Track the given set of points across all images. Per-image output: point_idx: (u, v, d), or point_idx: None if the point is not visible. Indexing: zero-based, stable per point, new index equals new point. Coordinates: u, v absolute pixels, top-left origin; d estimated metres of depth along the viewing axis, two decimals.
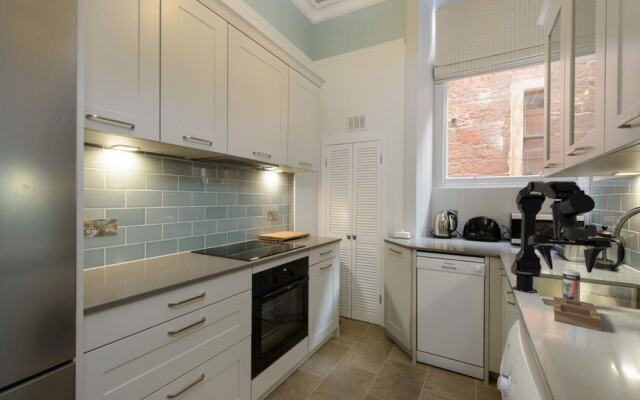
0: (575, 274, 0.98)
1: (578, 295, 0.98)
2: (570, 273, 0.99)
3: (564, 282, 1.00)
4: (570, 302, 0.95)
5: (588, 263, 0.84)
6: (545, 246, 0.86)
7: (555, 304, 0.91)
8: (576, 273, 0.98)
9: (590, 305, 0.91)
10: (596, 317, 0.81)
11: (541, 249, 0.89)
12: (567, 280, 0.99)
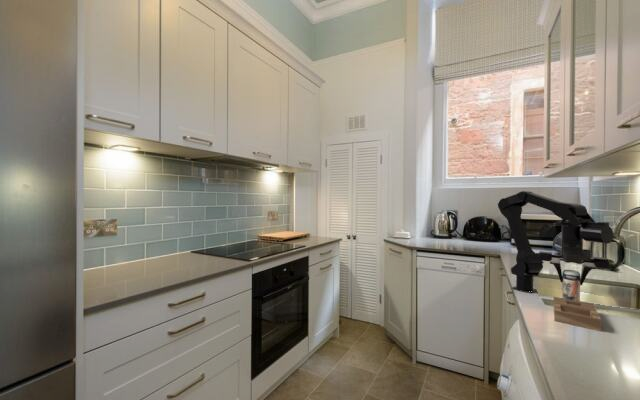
0: (575, 274, 0.98)
1: (578, 295, 0.98)
2: (570, 273, 0.99)
3: (564, 282, 1.00)
4: (570, 302, 0.95)
5: (580, 278, 0.99)
6: (555, 264, 1.01)
7: (555, 304, 0.91)
8: (576, 273, 0.98)
9: (590, 305, 0.91)
10: (596, 317, 0.81)
11: None
12: (567, 280, 0.99)
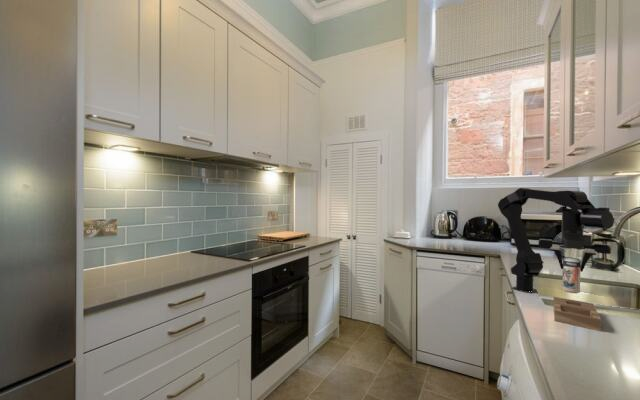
0: (576, 261, 0.98)
1: (578, 282, 0.98)
2: (570, 260, 0.99)
3: (564, 269, 1.00)
4: (570, 302, 0.95)
5: (581, 264, 0.99)
6: (555, 250, 1.01)
7: (555, 304, 0.91)
8: (576, 260, 0.98)
9: (590, 305, 0.91)
10: (596, 317, 0.81)
11: None
12: (567, 267, 0.99)
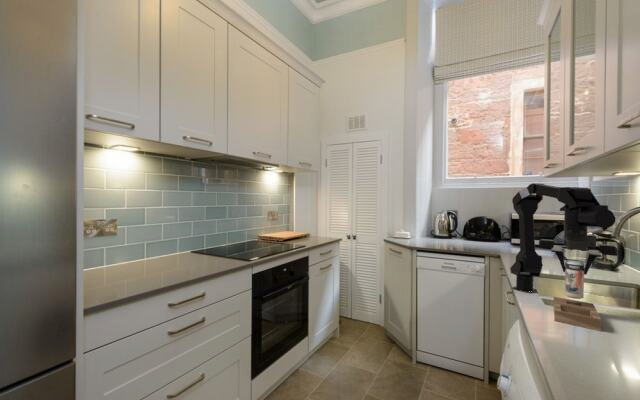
0: (579, 264, 0.91)
1: (582, 286, 0.91)
2: (573, 263, 0.91)
3: (567, 272, 0.93)
4: (570, 302, 0.95)
5: (585, 266, 0.91)
6: (557, 252, 0.93)
7: (555, 304, 0.91)
8: (580, 263, 0.91)
9: (590, 305, 0.91)
10: (596, 317, 0.81)
11: None
12: (570, 270, 0.92)
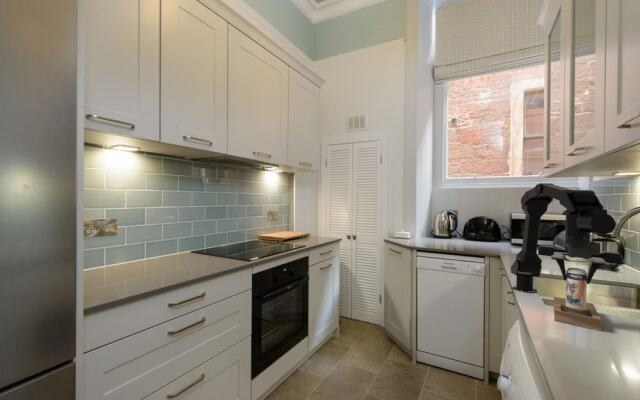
0: (581, 273, 0.84)
1: (584, 297, 0.84)
2: (575, 272, 0.85)
3: (568, 282, 0.86)
4: None
5: (587, 275, 0.85)
6: (558, 259, 0.87)
7: (555, 304, 0.91)
8: (582, 272, 0.84)
9: (590, 305, 0.91)
10: (596, 317, 0.81)
11: None
12: (571, 280, 0.85)
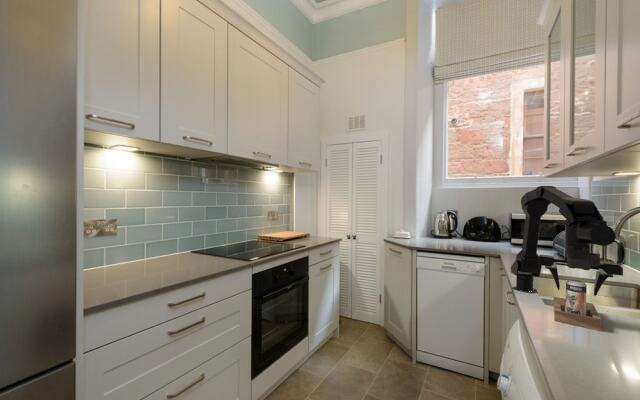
0: (581, 285, 0.84)
1: (584, 309, 0.84)
2: (575, 284, 0.85)
3: (568, 294, 0.86)
4: None
5: (594, 287, 0.83)
6: (551, 269, 0.88)
7: (555, 304, 0.91)
8: (582, 284, 0.84)
9: (590, 305, 0.91)
10: (596, 317, 0.81)
11: None
12: (571, 292, 0.85)
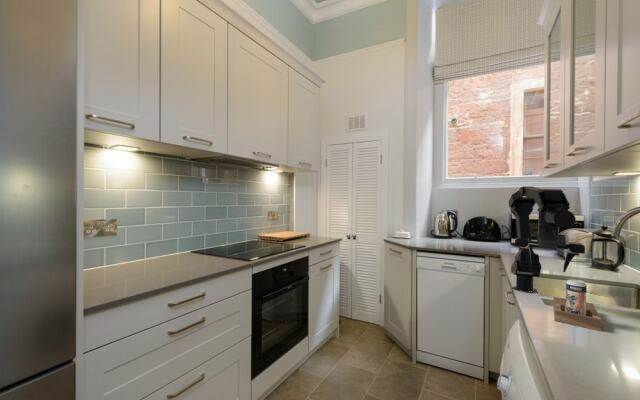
0: (581, 285, 0.84)
1: (584, 309, 0.84)
2: (575, 284, 0.85)
3: (568, 294, 0.86)
4: None
5: (564, 264, 0.96)
6: (524, 249, 1.01)
7: (555, 304, 0.91)
8: (582, 284, 0.84)
9: (590, 305, 0.91)
10: (596, 317, 0.81)
11: None
12: (571, 292, 0.85)
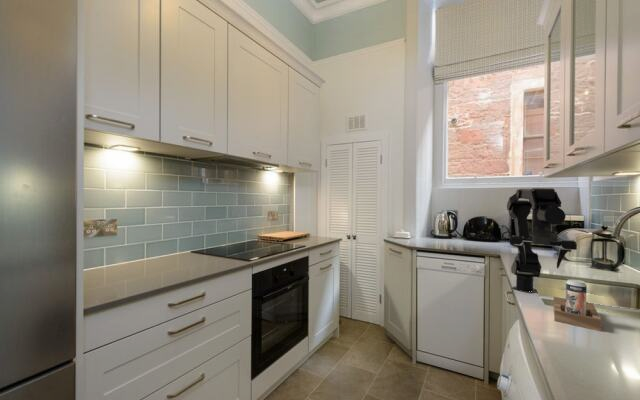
0: (581, 285, 0.84)
1: (584, 309, 0.84)
2: (575, 284, 0.85)
3: (568, 294, 0.86)
4: None
5: (557, 261, 0.99)
6: (518, 246, 1.04)
7: (555, 304, 0.91)
8: (582, 284, 0.84)
9: (590, 305, 0.91)
10: (596, 317, 0.81)
11: None
12: (571, 292, 0.85)
